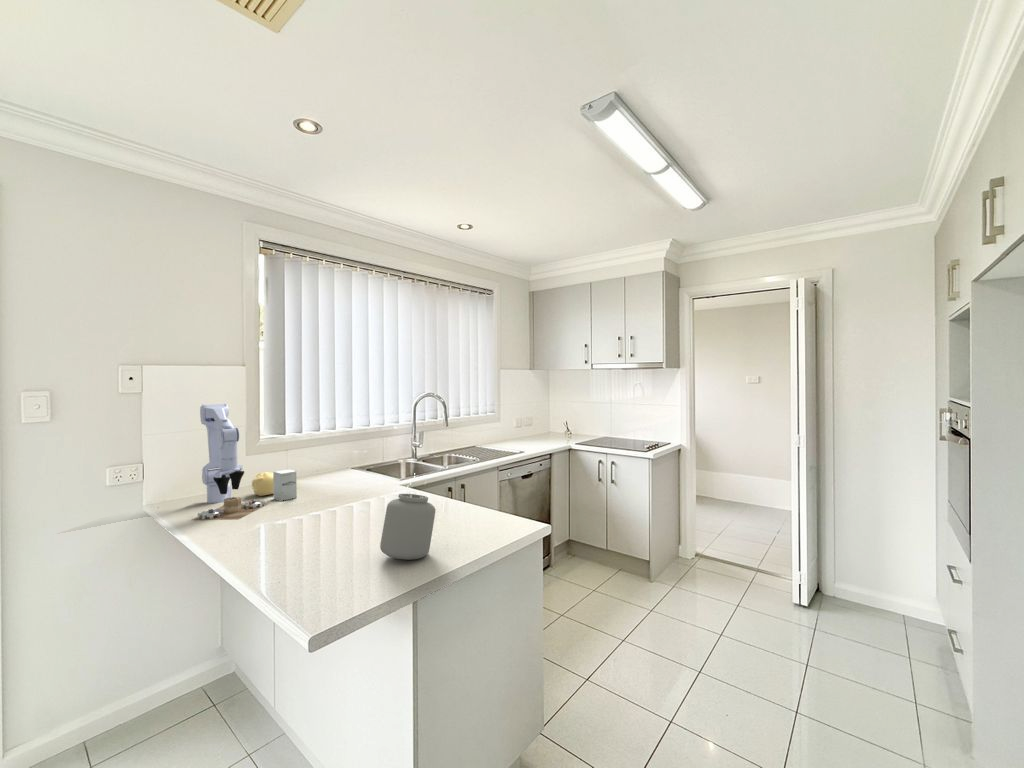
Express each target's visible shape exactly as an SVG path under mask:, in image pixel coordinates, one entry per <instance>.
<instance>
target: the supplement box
mask: <svg viewBox="0 0 1024 768" xmlns="http://www.w3.org/2000/svg"><path fill="white" fill-rule="evenodd" d="M272 473H273V489H274V494H273V500H275V499H276V501H278V500H279V502H283V500H284V501H288V500H293V499H297V498H296V497H298V496H297V493H298V492H297V489H298V488H297V470H293V469H284V470H276V471H273V472H272ZM292 498H293V499H292Z"/></svg>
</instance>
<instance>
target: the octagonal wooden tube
mask: <svg viewBox="0 0 1024 768" xmlns="http://www.w3.org/2000/svg"><path fill="white" fill-rule="evenodd" d="M241 504H242V497H241V496H231V498H227V499H224V502H223V506H224V512H225V513H235V512H239V511H241Z"/></svg>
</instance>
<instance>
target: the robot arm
mask: <svg viewBox="0 0 1024 768" xmlns="http://www.w3.org/2000/svg"><path fill="white" fill-rule="evenodd" d="M229 410H230V409H229V406H228V404H227V403H223V404H221V403H220V404H202V405H201V406H200V409H199V415H200V416H199V417H200V422H201V425H204V426H205V427H206V432H207V446H208V461H209V462H208V463H206V464H205V465H204V466H203V467H202V469H201V470H202V471H201V472H202V473H201V479H202V480H201V481H202V484H203V485H204V486H206V503H207V504H217V503H224V499H227V498H231V497H232V490H239V488H240V484H241V482H242V481H241V480H242V478H243V477H244V475H245V470H243V465H238V442H239V440H240V431H239V428H238V427H235V426H234V425H233V423H232V421H231V420H230V419H229V418H228V417H229V412H230V411H229ZM229 482H231V483H229Z"/></svg>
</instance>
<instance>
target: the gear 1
mask: <svg viewBox="0 0 1024 768" xmlns="http://www.w3.org/2000/svg"><path fill="white" fill-rule="evenodd" d="M215 509H216V510H215ZM215 509H212V508H210V509H208V510H204V511H201V512H198V513H197V517H198V519H202V520H201V521H206V520H205V519H209V518H210V519H213V518H215V517H217V518H218V517H220V516H222V515H224V511H223V510H219V509H217V508H215Z"/></svg>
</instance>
